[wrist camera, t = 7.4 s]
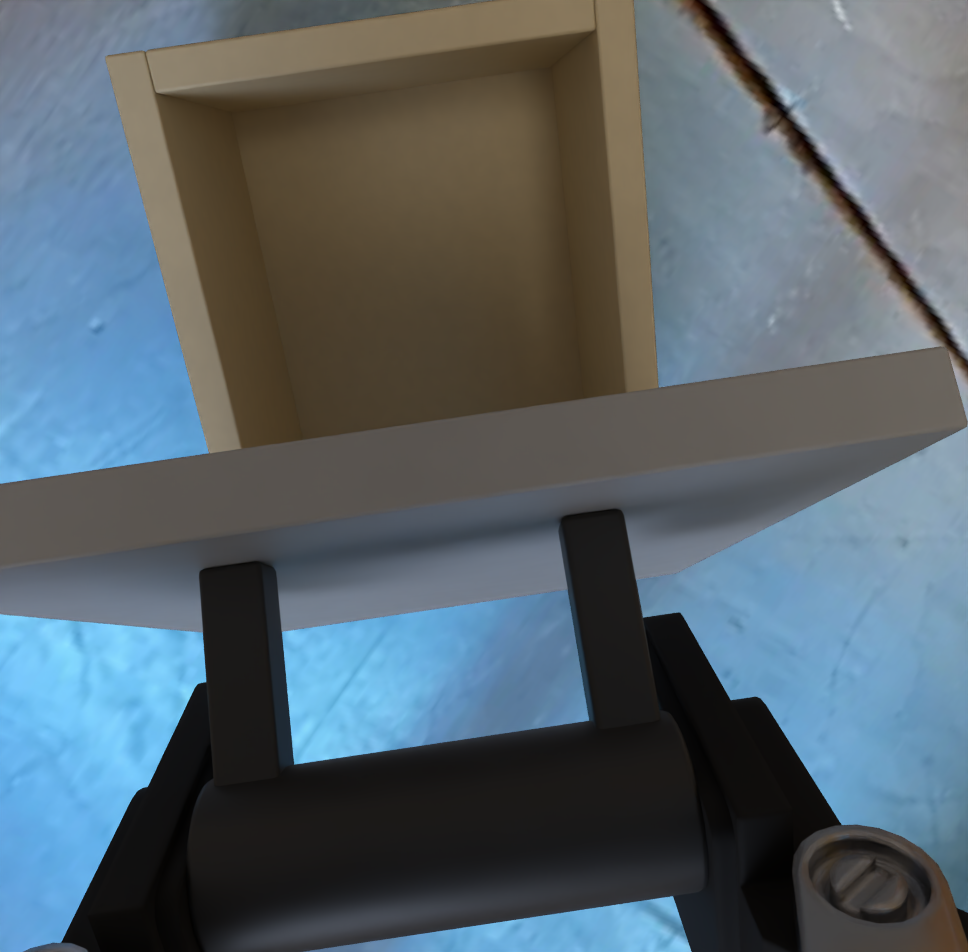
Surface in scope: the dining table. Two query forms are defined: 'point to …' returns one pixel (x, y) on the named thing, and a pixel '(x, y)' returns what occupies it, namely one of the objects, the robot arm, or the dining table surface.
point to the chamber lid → (446, 583)
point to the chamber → (398, 215)
